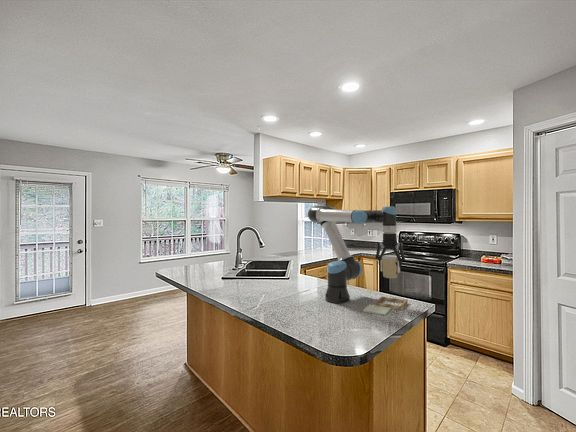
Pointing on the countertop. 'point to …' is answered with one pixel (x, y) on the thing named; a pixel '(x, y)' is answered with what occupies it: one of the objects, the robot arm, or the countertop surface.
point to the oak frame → (392, 301)
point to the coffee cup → (390, 266)
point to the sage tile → (377, 309)
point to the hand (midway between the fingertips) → (390, 271)
